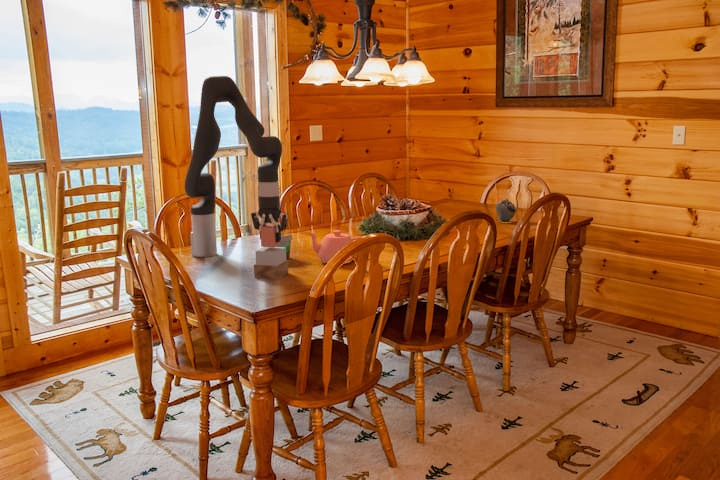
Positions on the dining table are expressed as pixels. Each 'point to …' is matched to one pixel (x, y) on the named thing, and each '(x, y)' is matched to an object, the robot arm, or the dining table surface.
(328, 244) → the teapot
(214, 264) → the dining table surface
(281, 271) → the bottom slab
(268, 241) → the red block
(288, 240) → the food container
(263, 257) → the top slab
